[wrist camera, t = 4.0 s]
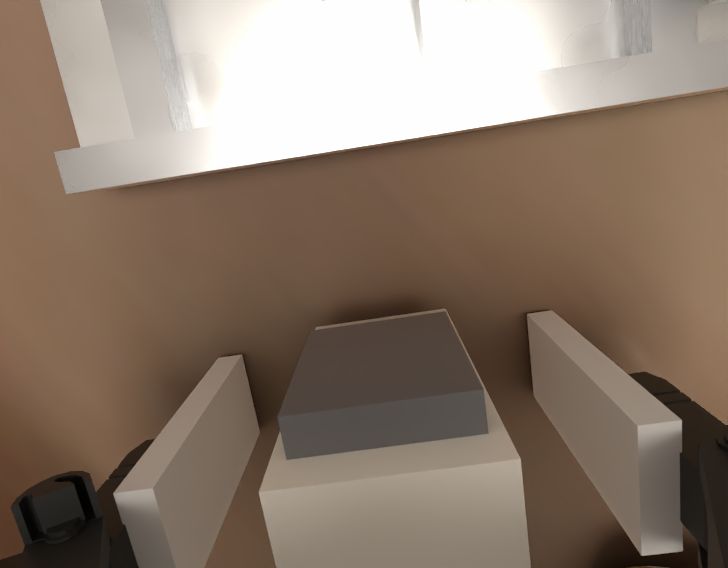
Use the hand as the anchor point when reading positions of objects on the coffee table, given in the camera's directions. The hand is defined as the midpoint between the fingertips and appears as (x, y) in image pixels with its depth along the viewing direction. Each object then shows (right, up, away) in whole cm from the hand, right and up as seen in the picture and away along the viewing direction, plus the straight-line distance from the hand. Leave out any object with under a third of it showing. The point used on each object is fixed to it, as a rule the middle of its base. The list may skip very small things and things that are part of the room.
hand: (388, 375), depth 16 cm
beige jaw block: (0, 0, 0) cm, 0 cm away
